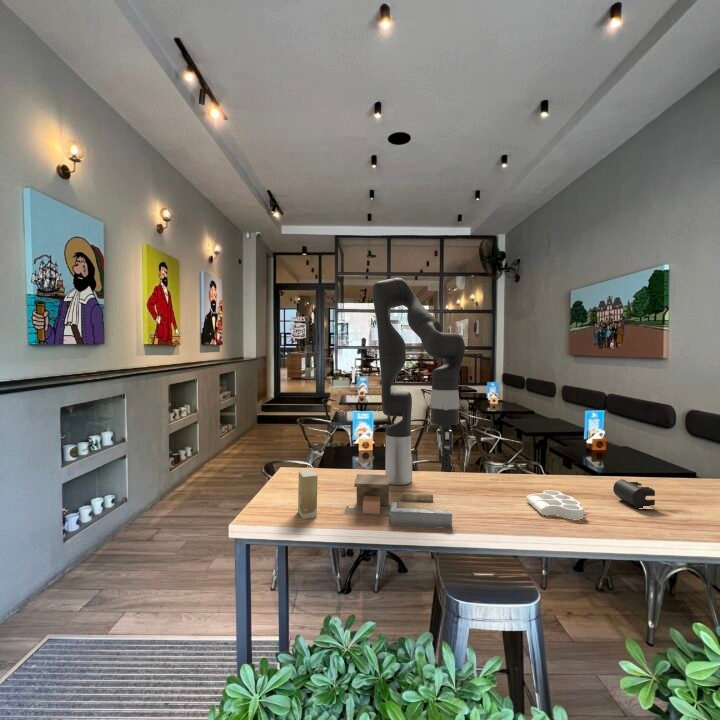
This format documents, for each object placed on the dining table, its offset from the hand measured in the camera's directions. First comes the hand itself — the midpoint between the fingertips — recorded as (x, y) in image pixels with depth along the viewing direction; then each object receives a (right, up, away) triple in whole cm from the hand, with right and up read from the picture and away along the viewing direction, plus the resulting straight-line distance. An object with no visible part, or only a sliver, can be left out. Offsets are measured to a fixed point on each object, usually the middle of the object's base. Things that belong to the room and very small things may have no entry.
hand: (444, 466), depth 116 cm
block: (-19, -16, +12) cm, 28 cm away
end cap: (+63, -17, +19) cm, 68 cm away
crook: (-6, -16, +4) cm, 18 cm away
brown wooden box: (-19, -16, +13) cm, 28 cm away
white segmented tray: (+37, -17, +14) cm, 43 cm away
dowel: (-5, -15, +20) cm, 26 cm away
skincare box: (-38, -16, +8) cm, 42 cm away
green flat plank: (-15, -16, +11) cm, 25 cm away
